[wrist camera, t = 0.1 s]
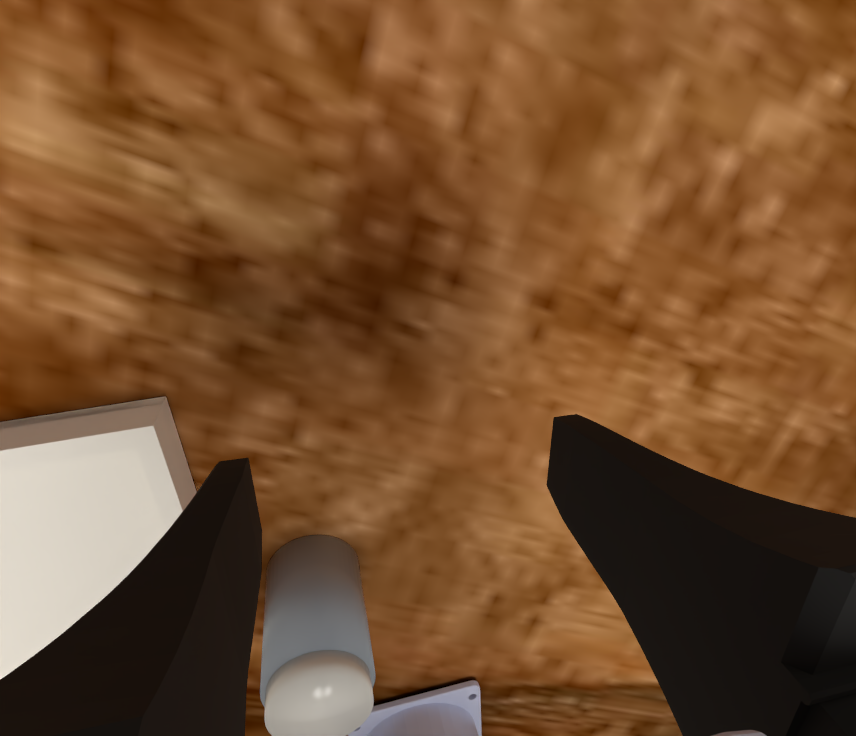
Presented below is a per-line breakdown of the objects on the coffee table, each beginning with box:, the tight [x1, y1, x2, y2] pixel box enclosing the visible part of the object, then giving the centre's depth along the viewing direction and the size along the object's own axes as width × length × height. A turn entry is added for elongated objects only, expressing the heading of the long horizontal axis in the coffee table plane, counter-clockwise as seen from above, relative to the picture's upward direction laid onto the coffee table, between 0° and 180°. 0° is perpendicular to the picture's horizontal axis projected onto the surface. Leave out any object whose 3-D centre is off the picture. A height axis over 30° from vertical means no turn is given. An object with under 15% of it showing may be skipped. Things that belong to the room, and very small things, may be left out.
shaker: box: [260, 535, 375, 736], centre depth 23 cm, size 4×4×7 cm
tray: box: [0, 396, 197, 679], centre depth 22 cm, size 14×12×2 cm
